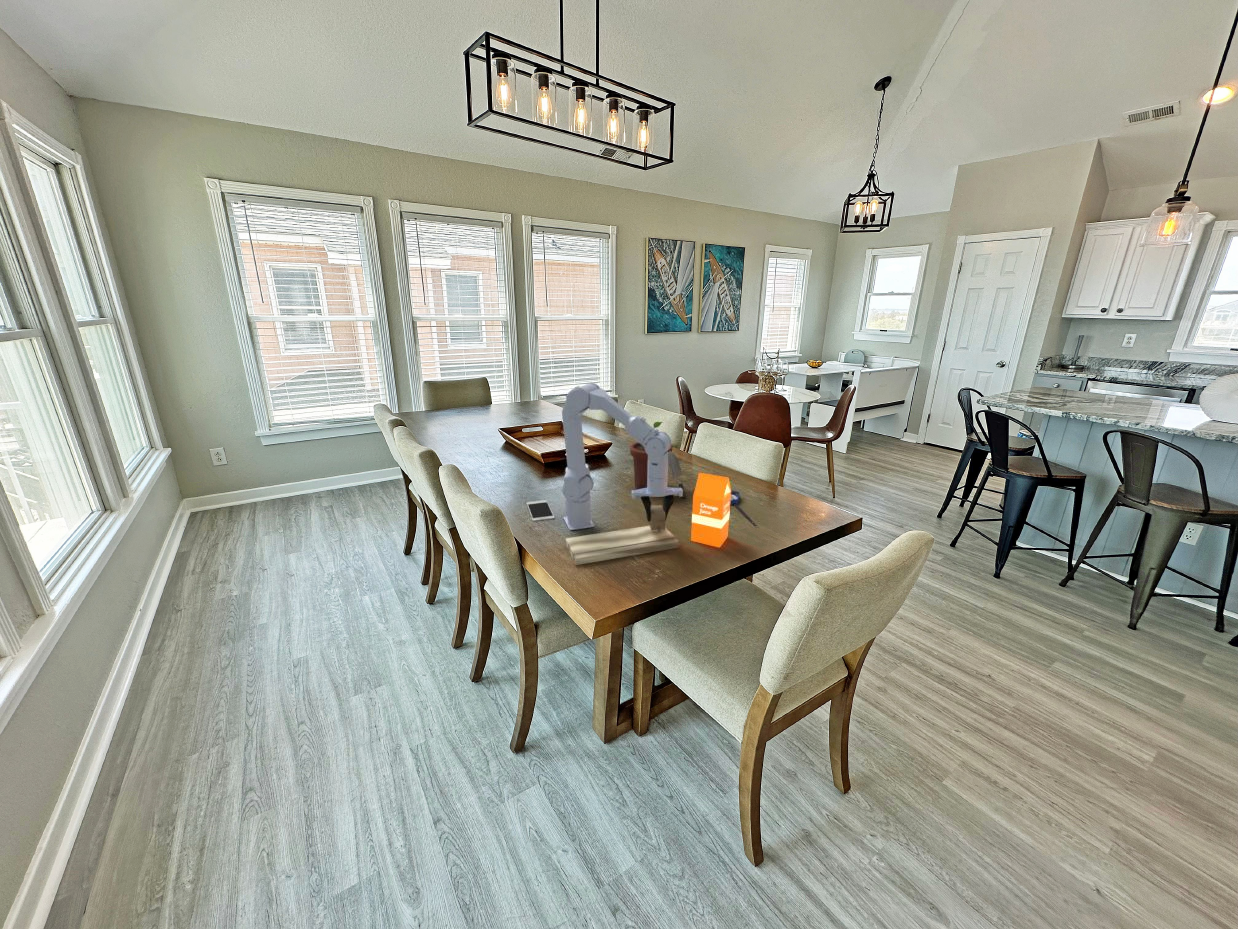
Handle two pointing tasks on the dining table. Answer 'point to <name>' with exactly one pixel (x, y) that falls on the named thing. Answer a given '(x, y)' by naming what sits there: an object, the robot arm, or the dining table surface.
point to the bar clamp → (734, 501)
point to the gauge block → (657, 518)
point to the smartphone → (540, 510)
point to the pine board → (619, 544)
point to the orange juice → (711, 510)
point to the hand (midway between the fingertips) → (656, 519)
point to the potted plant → (642, 464)
